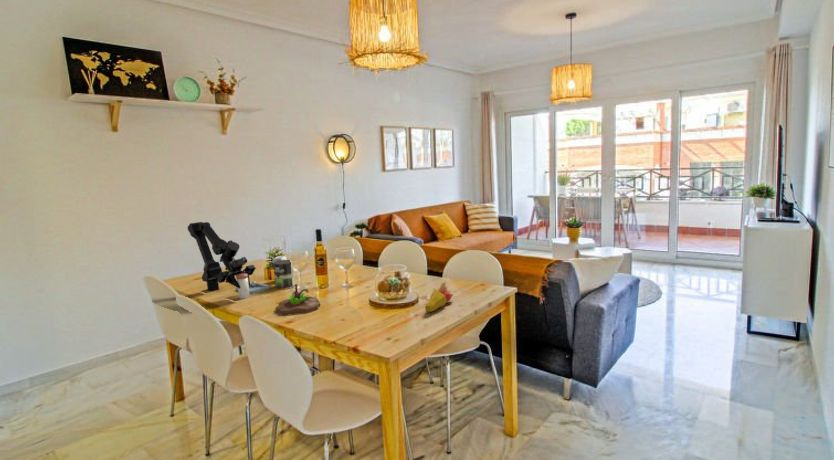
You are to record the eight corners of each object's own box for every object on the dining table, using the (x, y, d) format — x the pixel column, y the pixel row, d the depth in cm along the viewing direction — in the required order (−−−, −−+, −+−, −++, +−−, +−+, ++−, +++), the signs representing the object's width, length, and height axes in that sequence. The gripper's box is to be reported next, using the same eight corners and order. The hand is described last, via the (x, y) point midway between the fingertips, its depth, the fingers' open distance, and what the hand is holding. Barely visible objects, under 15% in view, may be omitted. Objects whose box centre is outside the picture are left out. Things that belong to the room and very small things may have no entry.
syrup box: (284, 283, 260) (282, 258, 258) (274, 283, 261) (272, 258, 259) (289, 280, 265) (286, 255, 263) (279, 280, 267) (277, 256, 264)
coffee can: (287, 290, 245) (284, 264, 243) (271, 289, 249) (268, 263, 247) (298, 285, 255) (296, 260, 253) (283, 284, 259) (281, 259, 256)
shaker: (236, 299, 233) (233, 275, 232) (246, 296, 238) (243, 272, 236) (242, 301, 230) (240, 276, 228) (252, 298, 234) (249, 274, 232)
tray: (236, 291, 248) (235, 287, 247) (255, 286, 257) (255, 282, 257) (251, 295, 239) (250, 291, 239) (271, 289, 248) (270, 285, 248)
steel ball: (250, 286, 253) (249, 281, 253) (255, 285, 255) (254, 280, 255) (253, 287, 251) (252, 282, 251) (258, 286, 254) (257, 280, 253)
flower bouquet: (426, 323, 197) (444, 298, 219) (441, 316, 194) (458, 292, 216) (416, 307, 197) (435, 284, 219) (431, 300, 193) (448, 277, 215)
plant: (320, 299, 227) (318, 277, 226) (320, 312, 208) (318, 288, 207) (278, 304, 223) (275, 281, 222) (274, 317, 204) (271, 292, 203)
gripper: (217, 256, 225) (232, 281, 220) (251, 249, 240) (266, 272, 235) (211, 270, 231) (225, 294, 226) (244, 262, 246) (258, 285, 241)
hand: (244, 286), depth 232 cm, fingers closed on shaker, 5 cm apart
